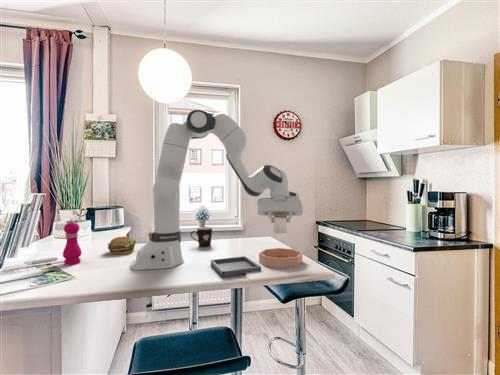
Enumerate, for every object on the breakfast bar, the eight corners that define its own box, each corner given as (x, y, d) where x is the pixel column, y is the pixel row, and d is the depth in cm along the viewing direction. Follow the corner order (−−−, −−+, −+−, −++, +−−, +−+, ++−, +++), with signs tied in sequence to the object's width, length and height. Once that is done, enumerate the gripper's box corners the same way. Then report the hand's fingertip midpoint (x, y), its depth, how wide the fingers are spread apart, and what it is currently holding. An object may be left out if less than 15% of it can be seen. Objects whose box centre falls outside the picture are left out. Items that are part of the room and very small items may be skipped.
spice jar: (277, 233, 125) (277, 214, 125) (271, 231, 131) (271, 213, 130) (289, 232, 127) (289, 214, 127) (283, 230, 133) (283, 213, 132)
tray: (222, 278, 111) (222, 271, 111) (210, 265, 128) (210, 259, 128) (261, 273, 117) (260, 266, 117) (245, 261, 134) (245, 256, 134)
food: (103, 256, 145) (103, 240, 145) (111, 250, 159) (110, 235, 159) (133, 254, 148) (132, 239, 148) (138, 248, 162) (137, 234, 161)
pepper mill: (59, 264, 131) (58, 220, 130) (73, 260, 138) (72, 218, 137) (71, 266, 128) (70, 220, 128) (85, 261, 135) (84, 218, 135)
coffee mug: (213, 244, 171) (213, 227, 170) (210, 247, 162) (210, 229, 162) (194, 244, 172) (194, 227, 172) (190, 247, 163) (189, 229, 163)
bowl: (271, 272, 118) (271, 260, 118) (254, 261, 134) (254, 250, 134) (308, 267, 124) (308, 255, 124) (288, 257, 141) (288, 247, 141)
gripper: (257, 193, 136) (256, 217, 127) (301, 193, 135) (304, 217, 125) (257, 202, 141) (256, 226, 131) (300, 202, 139) (303, 226, 130)
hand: (280, 221), depth 128 cm, fingers closed on spice jar, 5 cm apart
